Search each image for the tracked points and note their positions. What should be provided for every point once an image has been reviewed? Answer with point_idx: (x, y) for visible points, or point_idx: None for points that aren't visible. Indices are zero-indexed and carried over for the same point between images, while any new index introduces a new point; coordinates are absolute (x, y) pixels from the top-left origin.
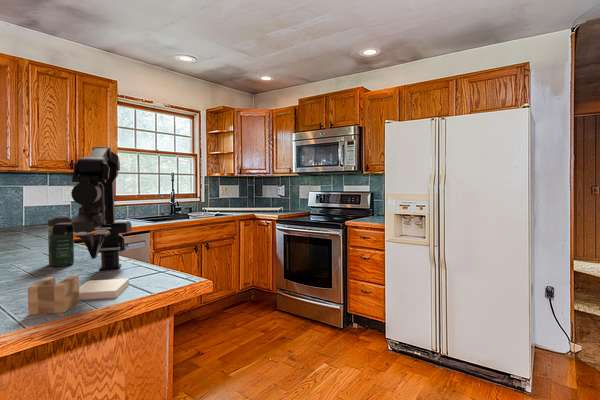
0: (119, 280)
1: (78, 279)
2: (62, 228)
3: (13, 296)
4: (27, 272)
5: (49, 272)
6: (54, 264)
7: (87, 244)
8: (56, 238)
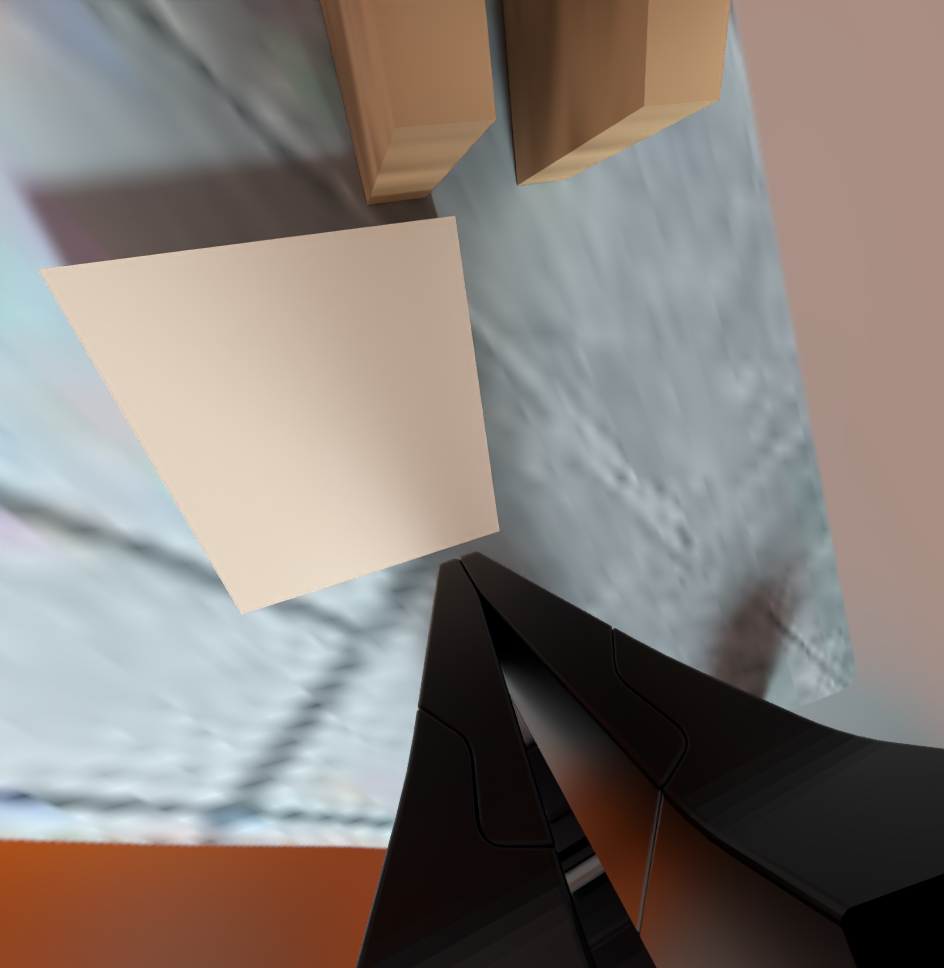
0: (282, 564)
1: (387, 138)
2: None
3: (766, 336)
4: (793, 636)
5: (733, 654)
6: None
7: (654, 686)
8: None
